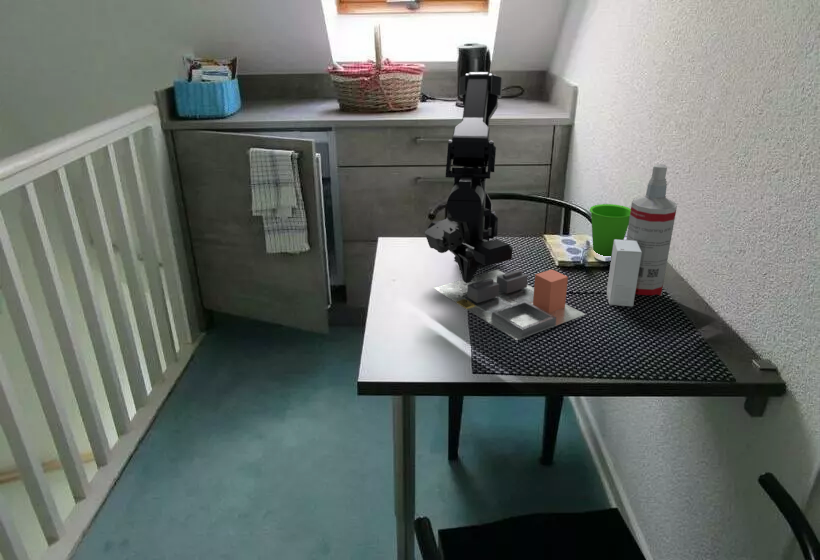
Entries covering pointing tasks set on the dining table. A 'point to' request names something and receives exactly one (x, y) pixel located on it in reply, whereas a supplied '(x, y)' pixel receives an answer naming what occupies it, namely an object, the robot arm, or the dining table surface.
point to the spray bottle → (652, 232)
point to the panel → (509, 308)
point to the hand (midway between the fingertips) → (467, 282)
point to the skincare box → (623, 272)
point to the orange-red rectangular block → (550, 290)
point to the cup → (608, 226)
